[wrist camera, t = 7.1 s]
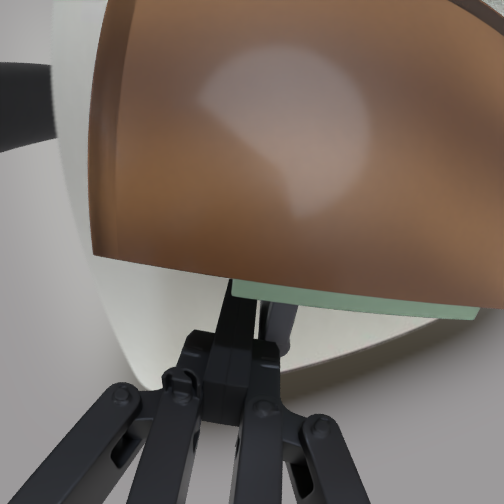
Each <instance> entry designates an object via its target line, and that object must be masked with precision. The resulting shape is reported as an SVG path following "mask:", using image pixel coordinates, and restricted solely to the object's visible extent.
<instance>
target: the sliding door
mask: <svg viewBox="0 0 504 504" xmlns="http://www.w3.org/2000/svg"><path fill="white" fill-rule="evenodd" d="M231 294H232V296H236V297H242V298H249V299H256V300H260V317H259V333H258V339H259V340H265V341H271V342H276V344H277V346H278V348H279V350H280V357H282V356H284V355H286V354H287V352H288V351H289V349H290V334H291V330H292V327H293V323H294V319H295V316H296V312H297V309H298V305H302V306H310V307H318V308H327V309H336V310H345V311H355V312H365V313H376V314H387V315H399V316H412V317H427V318H443V319H461V320H474V318H475V317H476V315H477V313H478V311H479V309H480V308H479V307H467V306H455V305H444V304H433V303H423V302H413V301H403V300H394V299H384V298H375V297H367V296H358V295H350V294H341V293H333V292H325V291H317V290H310V289H302V288H295V287H287V286H280V285H273V284H266V283H259V282H252V281H245V280H238V279H233V283H232V292H231Z"/></svg>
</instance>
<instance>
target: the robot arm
mask: <svg viewBox="0 0 504 504" xmlns="http://www.w3.org/2000/svg"><path fill="white" fill-rule="evenodd" d="M232 283H233V279H229V282H228V286H227V290H226V293H225V297H224V301H223V305H222V309H221V312H220V316H219V320H218V324H217V328H216V332H215V333H211V332H205V331H200V330H195V329H194V330H193V331H192V332H191V333H190V334H189V335H188V336H187V338H186V340H185V343H184V347H183V349H182V351H181V354H180V357H179V360H178V363H177V365H176V367H173V368H170V369H168V370H167V371H165V372H164V374H163V375H162V385H163V388H162V389H159V390H154V391H138V389H137V388H136V387H135V386H133V385H132V384H129V383H126V382H119V383H115V384H112V385H111V386H110V387H109V388H107V389H106V391H105V392H104V393H103V394H102V395H101V396H100V397H99V399H97V401H96V402H95V403H94V404H93V405H92V406H91V407H90V408H89V410H88V411H87V412H86V413H85V414H84V415H83V416H82V418H81V419H80V420H79V421H78V422H77V423H76V424H75V426H74V427H73V428H72V429H71V430H70V432H68V433H67V435H66V436H65V437H64V438H63V439H62V440H61V442H60V443H59V444H58V445H57V446H56V447H55V448H54V450H53V451H52V452H51V453H50V454H49V456H48V457H47V458H46V459H45V460H44V461H43V462H42V463H41V465H40V466H39V467H38V468H37V469H36V471H35V472H34V473H33V474H32V475H31V476H30V477H29V479H28V480H27V481H26V482H25V483H24V485H23V486H22V487H21V488H20V490H19V491H18V492H17V493H16V494H15V495H14V496H13V498H12V499H11V500H10V501H9V503H8V504H102V503H103V502H104V501H105V499H106V498H107V496H108V495H109V493H110V492H111V491H112V489H113V488H114V486H115V485H116V484H117V482H118V481H119V479H120V478H121V477H122V475H123V474H124V472H125V471H126V469H127V468H128V467H129V465H130V464H131V462H132V461H133V459H134V458H135V457H136V455H137V454H138V452H139V450H140V449H141V448H142V446H143V445H144V444H145V446H144V449H143V452H142V455H141V458H140V461H139V464H138V467H137V470H136V473H135V477H134V480H133V483H132V486H131V489H130V493H129V496H128V500H127V502H126V504H185V501H186V496H187V492H188V487H189V481H190V477H191V472H192V467H193V463H194V458H195V453H196V449H197V444H198V440H199V435H200V425H201V420H202V421H207V422H213V423H218V424H224V425H231V426H238V427H239V433H238V438H237V442H236V445H235V447H236V452H235V459H234V467H233V475H232V483H231V490H230V498H229V504H281V501H282V464H283V461H285V463H286V466H287V469H288V473H289V477H290V480H291V484H292V487H293V491H294V494H295V498H296V501H297V504H371V503H370V501H369V498H368V496H367V493H366V491H365V488H364V486H363V484H362V481H361V479H360V476H359V474H358V471H357V469H356V467H355V464H354V462H353V459H352V457H351V455H350V452H349V450H348V447H347V445H346V443H345V440H344V438H343V436H342V433H341V431H340V428H339V426H338V424H337V423H336V421H335V420H334V419H332V418H331V417H330V416H327V415H324V414H314V415H311V416H309V417H308V418H306V417H303V416H300V415H298V414H295V413H293V412H291V411H289V410H288V409H287V408H286V407H285V406H284V405H283V404H282V402H281V398H280V350H279V348H278V346H277V344H276V342H271V341H265V340H259V339H253V338H254V327H255V317H256V307H257V300H256V299H249V298H242V297H236V296H232V294H231V292H232ZM145 442H146V443H145Z"/></svg>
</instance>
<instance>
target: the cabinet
mask: <svg viewBox="0 0 504 504" xmlns="http://www.w3.org/2000/svg"><path fill="white" fill-rule="evenodd" d="M88 198H89V216H90V229H91V240H92V249H93V255H95V256H100V257H106V258H111V259H117V260H122V261H128V262H134V263H139V264H145V265H151V266H157V267H162V268H168V269H174V270H180V271H187V272H193V273H199V274H205V275H212V276H218V277H225V278H231V279H238V280H245V281H252V282H259V283H266V284H273V285H280V286H287V287H295V288H302V289H310V290H317V291H325V292H333V293H341V294H350V295H358V296H367V297H375V298H384V299H394V300H403V301H413V302H423V303H433V304H444V305H455V306H467V307H479V308H493V309H504V17H503V16H502V15H501V14H500V13H498V12H497V11H495V10H494V9H493V8H491V7H490V6H488V5H487V4H486V3H484V2H483V1H481V0H108V3H107V7H106V11H105V15H104V19H103V23H102V28H101V33H100V38H99V43H98V49H97V55H96V61H95V67H94V75H93V83H92V92H91V102H90V114H89V131H88Z"/></svg>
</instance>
